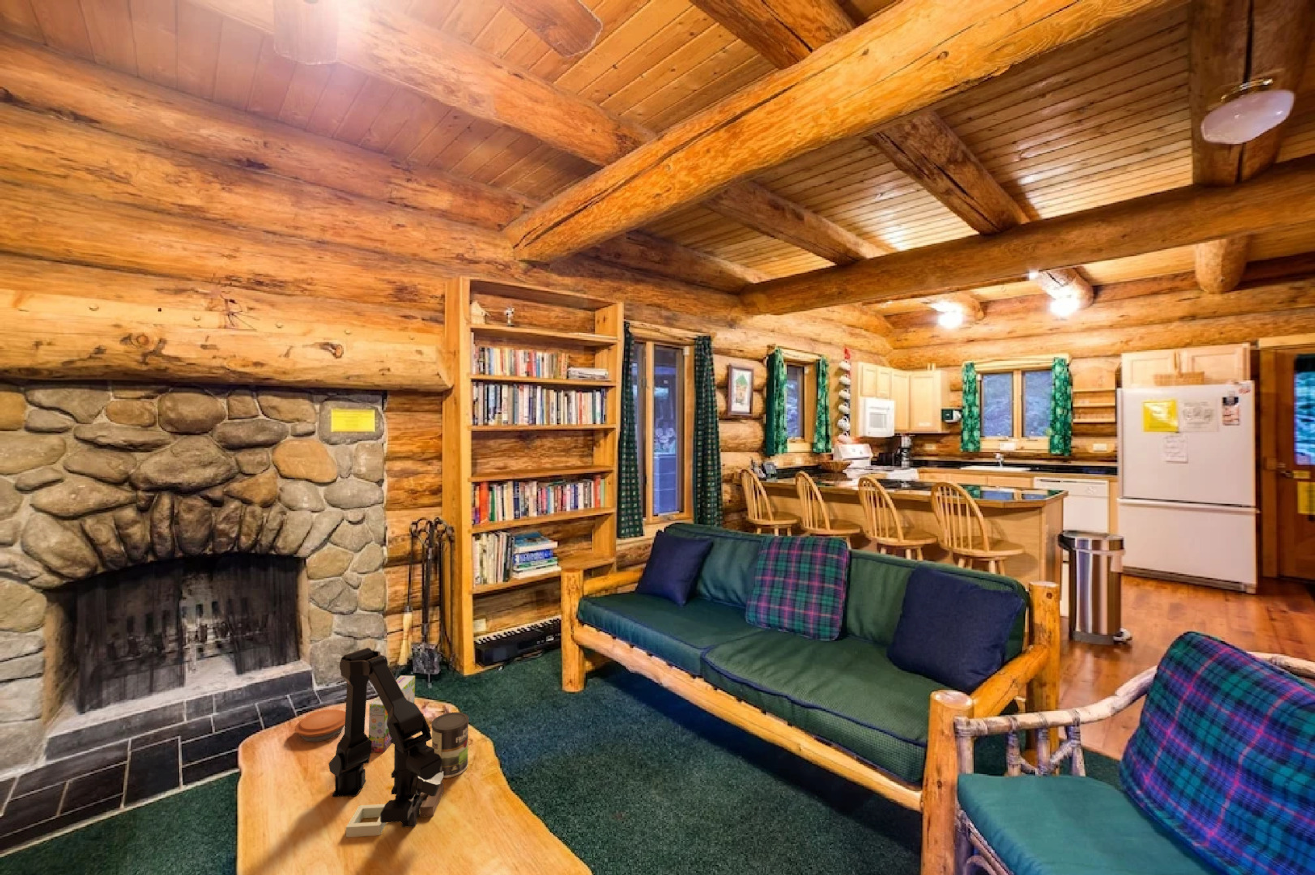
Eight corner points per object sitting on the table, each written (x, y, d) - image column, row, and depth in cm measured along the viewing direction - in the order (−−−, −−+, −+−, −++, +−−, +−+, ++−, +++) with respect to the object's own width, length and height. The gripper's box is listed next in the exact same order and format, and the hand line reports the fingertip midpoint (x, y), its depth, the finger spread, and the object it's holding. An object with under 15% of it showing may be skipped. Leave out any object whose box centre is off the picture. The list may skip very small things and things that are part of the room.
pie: (354, 717, 196) (354, 703, 196) (342, 742, 181) (342, 726, 181) (303, 723, 192) (303, 708, 192) (287, 749, 177) (287, 733, 177)
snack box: (385, 753, 175) (385, 705, 175) (367, 753, 175) (367, 704, 175) (415, 717, 197) (415, 674, 196) (399, 717, 197) (399, 674, 196)
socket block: (392, 818, 147) (393, 808, 147) (405, 793, 157) (405, 784, 157) (433, 816, 148) (433, 806, 148) (443, 791, 158) (443, 782, 158)
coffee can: (474, 760, 173) (475, 714, 172) (456, 780, 162) (456, 731, 162) (444, 755, 175) (444, 710, 174) (423, 775, 165) (424, 727, 164)
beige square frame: (345, 837, 140) (346, 827, 140) (359, 815, 148) (359, 805, 148) (380, 835, 141) (380, 825, 141) (391, 813, 149) (391, 803, 149)
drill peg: (409, 809, 150) (410, 779, 150) (414, 800, 154) (414, 771, 154) (424, 808, 151) (424, 778, 150) (428, 799, 154) (428, 770, 154)
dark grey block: (402, 827, 144) (402, 813, 143) (408, 813, 148) (408, 800, 148) (415, 826, 144) (415, 812, 144) (421, 813, 149) (421, 799, 149)
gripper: (429, 786, 133) (428, 851, 134) (450, 741, 152) (449, 799, 152) (379, 788, 132) (379, 854, 133) (406, 743, 151) (406, 801, 151)
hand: (406, 825), depth 142 cm, fingers closed
